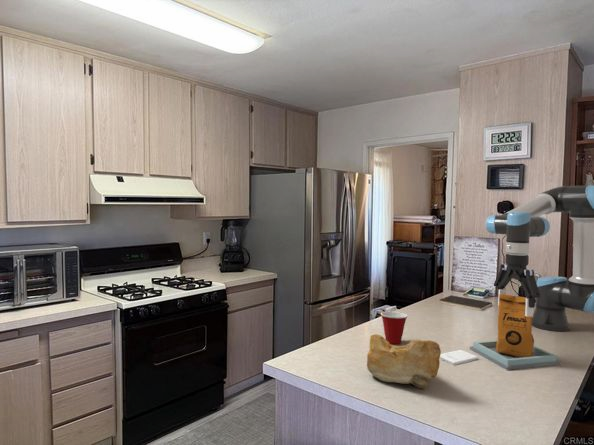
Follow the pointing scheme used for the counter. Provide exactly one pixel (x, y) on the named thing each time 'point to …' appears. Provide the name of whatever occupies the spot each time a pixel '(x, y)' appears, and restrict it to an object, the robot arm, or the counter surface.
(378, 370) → the rough brown rock
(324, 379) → the counter surface
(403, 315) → the plastic cup
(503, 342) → the coffee package
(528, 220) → the robot arm
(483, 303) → the hardcover book
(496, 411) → the counter surface
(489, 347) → the base
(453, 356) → the external hard drive
